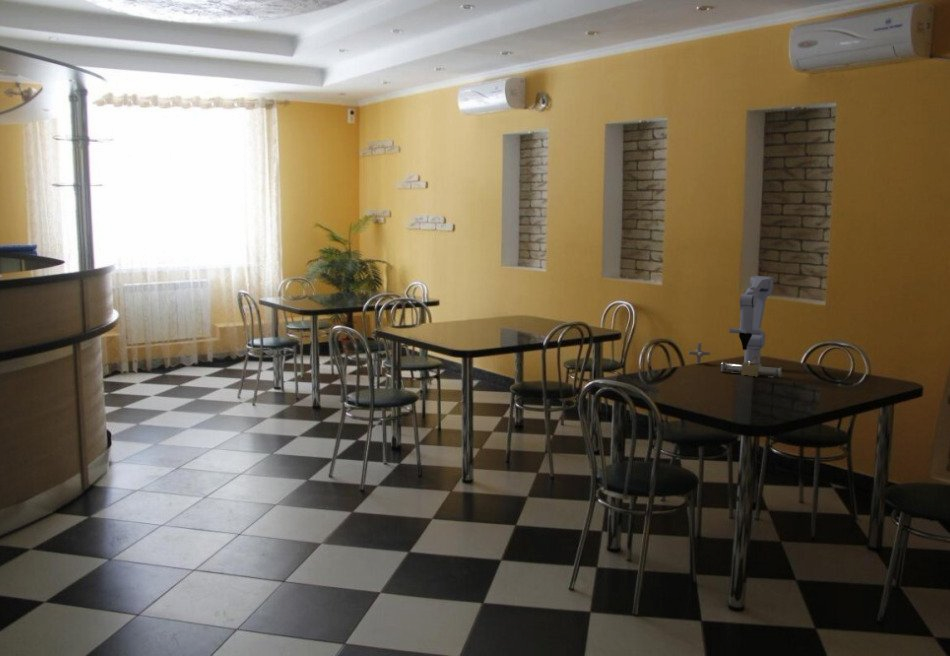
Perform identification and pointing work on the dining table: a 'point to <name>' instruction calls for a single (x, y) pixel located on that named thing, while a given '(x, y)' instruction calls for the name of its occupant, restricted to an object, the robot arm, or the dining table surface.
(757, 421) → the dining table surface
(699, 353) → the pipe connector
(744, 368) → the valve pipe
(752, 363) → the lever
